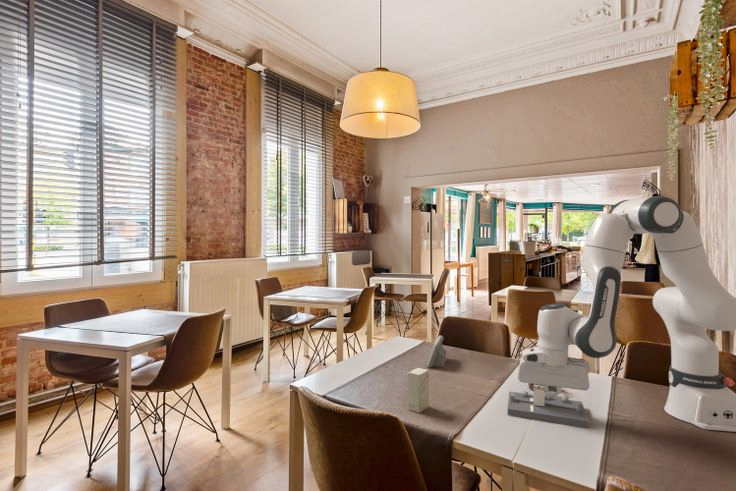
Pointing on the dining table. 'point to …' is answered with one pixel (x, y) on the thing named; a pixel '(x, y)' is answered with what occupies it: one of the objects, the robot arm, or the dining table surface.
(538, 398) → the fader tab
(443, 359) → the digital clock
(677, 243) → the robot arm
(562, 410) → the console
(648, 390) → the dining table surface
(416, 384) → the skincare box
